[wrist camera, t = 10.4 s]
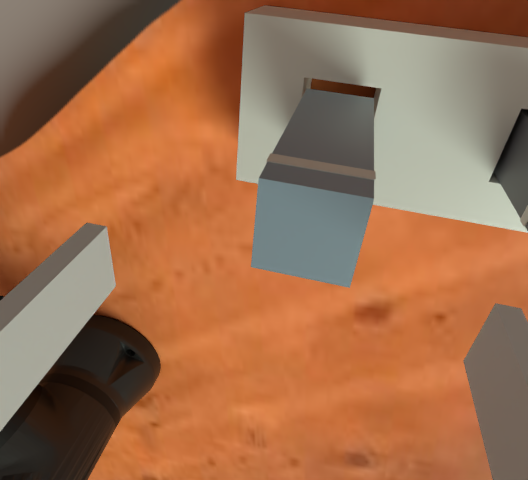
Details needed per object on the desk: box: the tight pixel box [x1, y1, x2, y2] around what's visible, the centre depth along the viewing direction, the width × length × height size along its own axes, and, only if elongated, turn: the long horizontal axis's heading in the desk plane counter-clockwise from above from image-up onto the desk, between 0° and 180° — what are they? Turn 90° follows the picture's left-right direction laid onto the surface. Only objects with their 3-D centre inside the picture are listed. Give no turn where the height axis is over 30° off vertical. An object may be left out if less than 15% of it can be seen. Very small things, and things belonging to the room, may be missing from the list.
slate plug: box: [251, 88, 376, 288], centre depth 22 cm, size 4×4×14 cm
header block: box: [236, 5, 528, 232], centre depth 30 cm, size 28×12×6 cm, turn 85°
